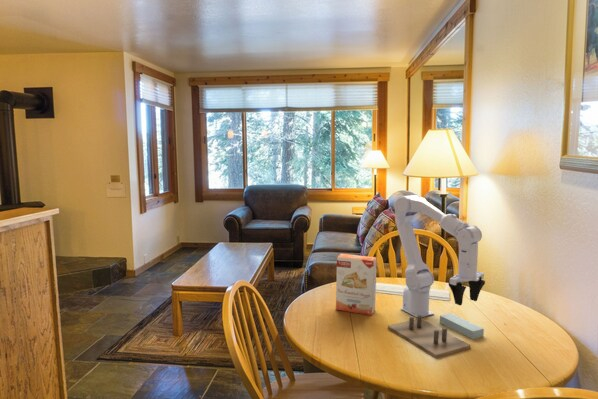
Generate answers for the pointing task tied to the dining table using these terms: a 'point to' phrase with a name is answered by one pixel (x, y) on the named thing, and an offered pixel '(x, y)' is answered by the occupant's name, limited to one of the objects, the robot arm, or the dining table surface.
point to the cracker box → (356, 283)
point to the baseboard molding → (399, 289)
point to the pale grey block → (462, 326)
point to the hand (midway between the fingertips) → (466, 302)
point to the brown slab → (429, 337)
